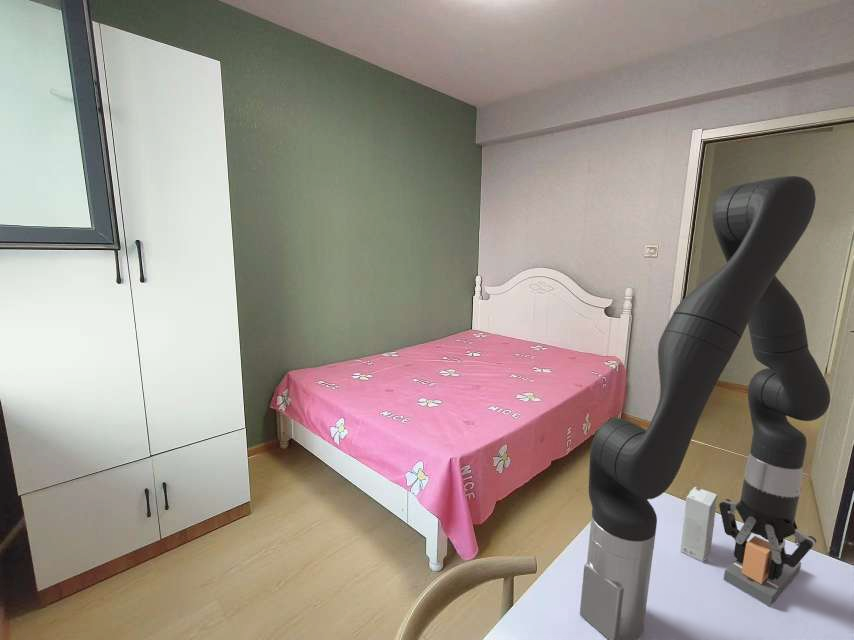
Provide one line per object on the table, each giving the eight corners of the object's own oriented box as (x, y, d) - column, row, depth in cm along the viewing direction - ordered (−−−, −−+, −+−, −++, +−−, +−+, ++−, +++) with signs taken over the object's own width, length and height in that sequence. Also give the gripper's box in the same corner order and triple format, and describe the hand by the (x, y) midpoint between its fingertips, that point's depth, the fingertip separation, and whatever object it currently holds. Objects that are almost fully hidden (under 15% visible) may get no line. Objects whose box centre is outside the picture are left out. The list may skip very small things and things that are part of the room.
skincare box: (704, 563, 80) (712, 507, 78) (678, 551, 83) (685, 496, 81) (711, 548, 84) (719, 494, 82) (686, 537, 87) (694, 485, 85)
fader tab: (761, 584, 72) (766, 553, 71) (741, 572, 75) (746, 543, 74) (769, 574, 74) (775, 545, 73) (750, 564, 77) (755, 535, 76)
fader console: (770, 607, 70) (771, 596, 70) (723, 579, 76) (724, 569, 76) (799, 571, 78) (801, 562, 78) (755, 549, 84) (757, 540, 84)
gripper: (715, 470, 75) (703, 553, 78) (818, 511, 64) (800, 607, 66) (733, 459, 80) (720, 538, 82) (832, 496, 68) (814, 587, 71)
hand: (756, 568), depth 74 cm, fingers open, 4 cm apart
